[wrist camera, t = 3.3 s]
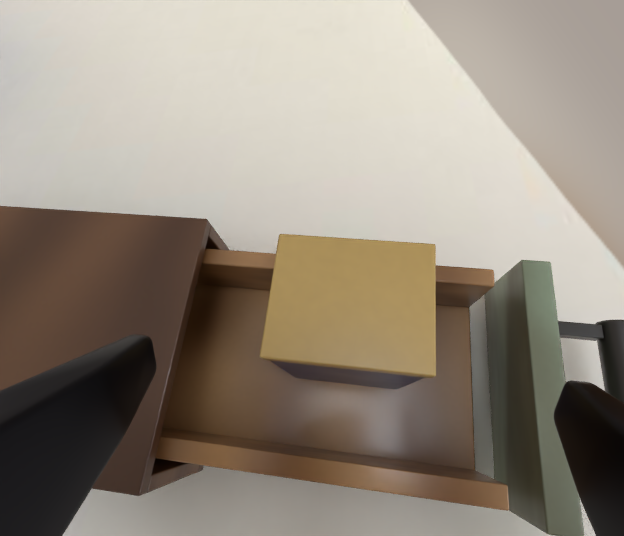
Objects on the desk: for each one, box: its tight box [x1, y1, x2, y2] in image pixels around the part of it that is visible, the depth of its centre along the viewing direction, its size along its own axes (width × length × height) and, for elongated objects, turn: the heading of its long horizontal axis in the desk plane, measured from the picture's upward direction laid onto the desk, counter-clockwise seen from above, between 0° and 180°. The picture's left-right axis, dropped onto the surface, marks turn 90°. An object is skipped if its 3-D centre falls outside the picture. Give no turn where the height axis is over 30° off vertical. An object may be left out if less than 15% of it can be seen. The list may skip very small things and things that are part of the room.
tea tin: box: [259, 234, 436, 389], centre depth 15 cm, size 4×5×8 cm
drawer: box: [156, 249, 624, 536], centre depth 17 cm, size 22×10×5 cm, turn 83°
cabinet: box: [0, 206, 229, 496], centre depth 19 cm, size 19×11×6 cm, turn 83°
